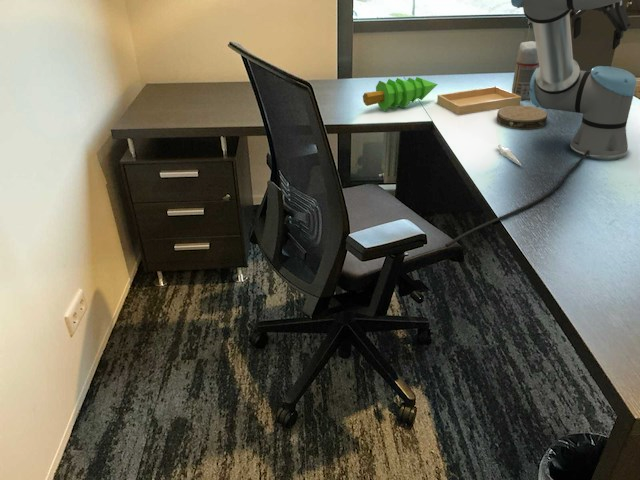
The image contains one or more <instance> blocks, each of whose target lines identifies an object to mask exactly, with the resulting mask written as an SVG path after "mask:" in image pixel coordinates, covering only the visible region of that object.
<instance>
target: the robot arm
mask: <svg viewBox="0 0 640 480" xmlns="http://www.w3.org/2000/svg"><path fill="white" fill-rule="evenodd" d="M510 2H511V3H510V4H511V6H512V7H515V8H517V9H520V8H522V10H523V14H524V16H525V19H527V20H528V21H529V22H530V23H531V24H532V30H533V36H534V41H535V42H536V49H537V55H538V61H539V66H538V68H537V69H536V70H535V71H534V73H533V75H532V78H531V82H530V92H529V93H530V99H529V100H530V102H531V103H532V105H534V107H536V108H541V109H543V110H544V109H546V110H553V111H560V112H561V111H562V112H568V113H576V114H582V117H581V121H580V125H579V126H578V128H577V130H576V132H575V133H574V135H573V136H572V139H571V140H570V143H569V150H570V152H572V153H574V154H575V155H577V156H580V158H579V159H578V160H577V162H576V163H575V164H574V165H572V166H571V167H570V168H569V169H568V170H567V171H566V173H565V174H564V176H563V177H562V179H560V181H559V182H558V183H557V184H556V185H555V186H554V187H553V188H551V189H550V190H549V191H548V192H546V193H545V194H543V195H541V196H540V197H538V198H537V199H535V200H533V201H531V202H529V203H527V204H526V205H523V206H522V207H519V208H517V209H515V210H513V211H511V212H510V211H509V212H508V213H506V214H503V215H501V216H499V217H496V218H494V219H492V220H489V221H487V222H485V223H483V224H480V225H478V226H476V227H474V228H472V229H470V230H468V231H465V232H464V233H462V234H461V235H459V236H457V237H456V238H454V239H452V240H451V241H449V242H447V243H445V245H444V246H445V247H446V248H449V247H450V246H452V245H454V244H456V243H457V242H458V241H460V240H462V239H464V238H466V237H467V236H470V235H471V234H473V233H475V232H477V231H480V230H482V229H484V228H486V227H488V226H490V225H493V224H495V223H497V222H499V221H502V220H504V219H507V218H508V217H511V216H513V215H516V214H517V213H519V212H522V211H524V210H526V209H528V208H531V207H532V206H534V205H535V204H537V203H539V202H541V201H543V200H544V199H546V198H547V197H549V196H550V195H551V194H553V193H554V192H555V191H556V190H557V189H558V188H559V187H560V186H561V185H562V184H563V183H564V182H565V180H566V179H567V178H568V176H569V175H570V174H571V172H573V170H575V169H576V168H577V167H578V166H579V165H580V164H581V163H582V162H583V160H585V158H586V159H591V160H598V161H613V160H619V159H621V158H624V157H625V156H626V155H627V154H628V153H627V152H628V148H629V145H628V136H627V123H628V119H629V115H630V110H631V108H632V107H631V106H632V103H633V99H634V96H635V94H636V86H637V78H636V76H635V74H633V73H631V72H630V71H629V70H626V69H623V68H620V67H615V66H609V65H606V66H604V65H597V66H594V67H593V68H592V69H591V70H590V71H587V70H582V69H581V68H580V65H579V63H578V62H577V60H575V59H574V54H573V42H572V29H573V39H575V40H576V39H577V38H578V37H579V36H580V35H581V33H582V31H581V30H582V16H581V15H582V14H583V13H585V12H586V11H588V10H593V11H597V12H600V13H603V14H604V15H605V16H607V18H608V20H609V21H610V23H611V24H612V26H613V27H614V28H615V30H614V31H613V37H612V47H611V49H612V50H616V49H617V48H618V46H619V45H620V43H621V40H622V39H623V38H624V33H625V32H627V31H628V30H629V29H630V28H631V27H632V24H631V21H630V18H629V16H628V13H627V9H626V7H625V4H624V2H625V1H624V0H510ZM576 11H577V12H576ZM571 28H572V29H571Z"/></svg>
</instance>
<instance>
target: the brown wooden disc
mask: <svg viewBox="0 0 640 480" xmlns="http://www.w3.org/2000/svg"><path fill="white" fill-rule="evenodd" d="M547 119H548V113H547V111H546V110H544V109H543V108H540V107H537V106H531V105H517V106H507V107H503V108H498V109H497V113H496V122H497V124H499V125H501V126H503V127H505V128H508V129H509V128H510V129H514V130H535V129H536V130H537V129H540V128H542V127H545V125H546V124H547Z"/></svg>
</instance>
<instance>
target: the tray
mask: <svg viewBox="0 0 640 480" xmlns="http://www.w3.org/2000/svg"><path fill="white" fill-rule="evenodd" d="M436 101H437V104H438V105H439V106H442V108H445V109H447V110H449V111H451V112H452V113H454V114H456V115H458V116H461V115H467V114H472V113H479V112H487V111H491V110H499V109H501V108H503V107H507V106H521V103H522V99H521V96H519V95H516V94H514V93H512V91H509V90H507V89H504V88H503V87H499V86H497V85H495V86H490V87H489V86H488V87H482V88H475V89H469V90H461V91H456V92H450V93H442V94H437V100H436Z"/></svg>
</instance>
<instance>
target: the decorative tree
mask: <svg viewBox="0 0 640 480" xmlns="http://www.w3.org/2000/svg"><path fill="white" fill-rule="evenodd" d="M438 85H439V84H438V83H436V82H433V81H430V80H427V79H425V78H422V77H418V76H416V78H415V79H413V78H411V77H408V79H407V80H406V79H402V78H398V77H397V78H396V79H395V80H393V79H391V78H388V80H387V81H386V82H384V81H381V80H379V81H378V82H377V84H376V85H375V90H374V91H368V92H364V93H363V95H362V102H363V103H364V105H365V106H366V107H369V106H372V105H376V104H377V105H378V108H379V109H380V110H381V111H384V112H386V111H387V110H388V109H390V108H391V109H393V110H395V109H396V108H397V107H398V106H399V107H401V108H403V109H405V108H406V107H407V105H408V104H410V103H414V102H415V101H416V100H417V99H418V100H420V101H422V100H424V99H425V98H426V96H428V95H429V94H430V93H431V92H432V91H433V90H434V89H435V88H436V87H437V86H438Z"/></svg>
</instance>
